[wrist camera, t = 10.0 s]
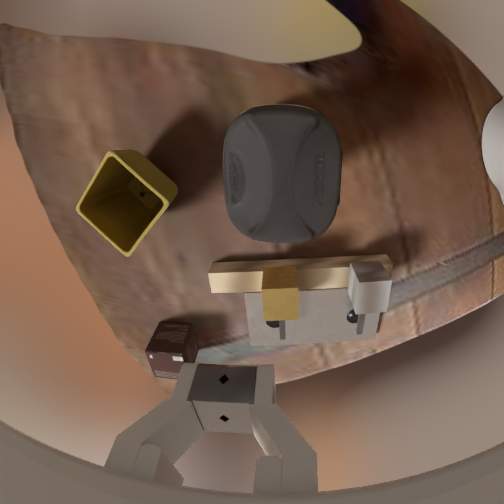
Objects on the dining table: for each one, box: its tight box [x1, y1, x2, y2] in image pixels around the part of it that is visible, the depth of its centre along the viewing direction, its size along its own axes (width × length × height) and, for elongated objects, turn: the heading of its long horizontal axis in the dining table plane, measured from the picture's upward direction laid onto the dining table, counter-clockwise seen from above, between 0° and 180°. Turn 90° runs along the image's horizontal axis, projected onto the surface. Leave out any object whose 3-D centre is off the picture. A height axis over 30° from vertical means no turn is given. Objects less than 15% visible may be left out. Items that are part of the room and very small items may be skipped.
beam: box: [208, 254, 393, 335], centre depth 38 cm, size 24×11×8 cm, turn 95°
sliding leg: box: [261, 266, 299, 340], centre depth 37 cm, size 4×11×5 cm, turn 5°
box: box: [145, 322, 198, 379], centre depth 44 cm, size 6×6×7 cm
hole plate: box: [244, 287, 380, 346], centre depth 43 cm, size 20×10×1 cm, turn 95°
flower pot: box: [76, 150, 178, 257], centre depth 33 cm, size 9×9×9 cm
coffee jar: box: [223, 104, 342, 243], centre depth 25 cm, size 10×8×19 cm
